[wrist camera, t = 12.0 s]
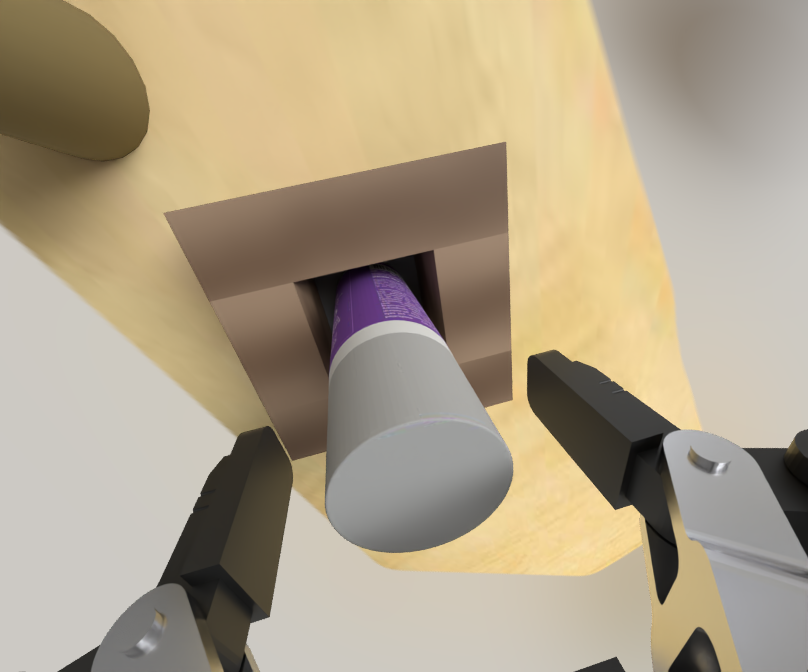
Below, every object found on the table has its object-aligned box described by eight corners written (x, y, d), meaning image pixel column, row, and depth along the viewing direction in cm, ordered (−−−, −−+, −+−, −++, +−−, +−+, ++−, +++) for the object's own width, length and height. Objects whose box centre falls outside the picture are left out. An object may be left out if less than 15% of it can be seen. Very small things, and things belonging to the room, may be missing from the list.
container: (322, 278, 19) (272, 477, 6) (389, 247, 19) (492, 377, 6) (356, 336, 21) (375, 578, 8) (415, 309, 21) (535, 507, 8)
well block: (220, 206, 17) (163, 212, 12) (457, 156, 18) (506, 141, 13) (304, 398, 23) (292, 460, 18) (475, 354, 24) (512, 399, 19)
